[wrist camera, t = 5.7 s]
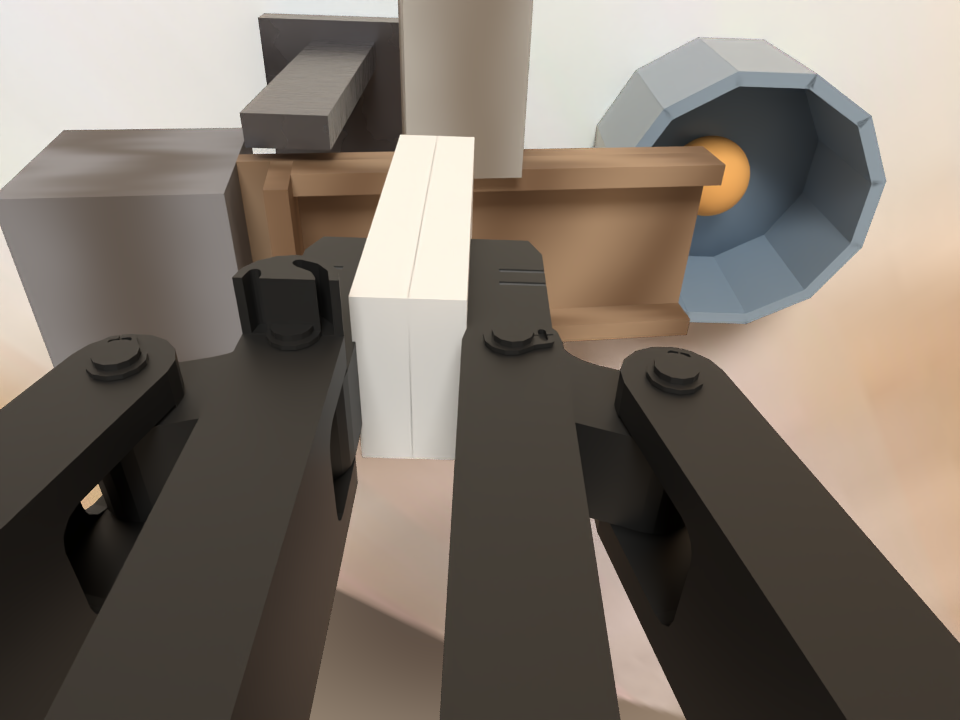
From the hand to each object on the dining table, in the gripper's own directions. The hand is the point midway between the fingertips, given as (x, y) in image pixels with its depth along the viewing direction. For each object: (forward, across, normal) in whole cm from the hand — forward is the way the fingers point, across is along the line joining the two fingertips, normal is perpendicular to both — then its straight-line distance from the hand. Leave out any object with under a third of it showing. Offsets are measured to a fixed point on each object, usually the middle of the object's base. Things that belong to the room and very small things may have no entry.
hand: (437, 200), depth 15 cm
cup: (+24, +13, -7) cm, 28 cm away
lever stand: (+24, -6, -7) cm, 26 cm away
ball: (+22, +13, -7) cm, 26 cm away
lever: (+16, -3, -4) cm, 16 cm away
